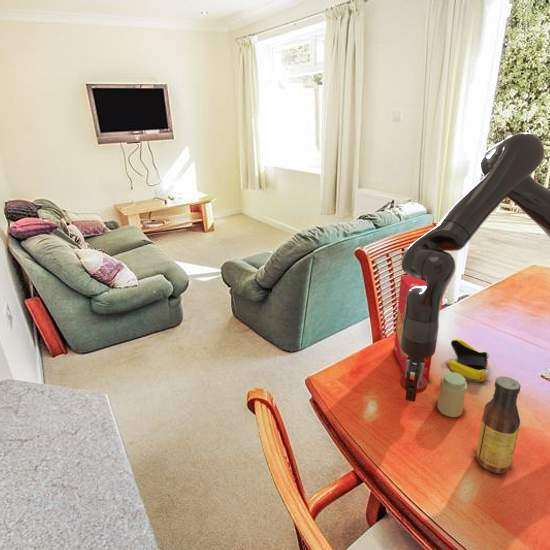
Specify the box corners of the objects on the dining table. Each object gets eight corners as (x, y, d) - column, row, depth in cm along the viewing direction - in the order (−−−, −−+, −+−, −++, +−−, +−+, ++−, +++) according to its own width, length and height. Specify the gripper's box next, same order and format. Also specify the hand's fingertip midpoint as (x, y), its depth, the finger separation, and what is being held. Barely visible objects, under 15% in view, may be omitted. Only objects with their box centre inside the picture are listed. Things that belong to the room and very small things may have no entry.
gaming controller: (443, 380, 101) (485, 391, 96) (445, 363, 99) (489, 373, 94) (450, 350, 113) (487, 359, 108) (452, 335, 110) (491, 343, 106)
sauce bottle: (516, 473, 74) (539, 394, 66) (486, 477, 74) (505, 397, 66) (496, 447, 80) (514, 371, 72) (467, 449, 80) (483, 374, 72)
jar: (458, 401, 93) (463, 371, 90) (465, 418, 88) (471, 386, 84) (434, 400, 94) (439, 370, 90) (440, 416, 89) (445, 385, 85)
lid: (394, 380, 92) (395, 375, 91) (415, 374, 93) (415, 369, 93) (410, 396, 86) (410, 391, 86) (432, 389, 88) (432, 384, 88)
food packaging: (394, 350, 114) (400, 275, 104) (411, 350, 114) (420, 274, 104) (408, 382, 101) (417, 299, 91) (428, 381, 100) (439, 298, 91)
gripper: (406, 314, 91) (401, 370, 98) (396, 345, 80) (390, 406, 86) (440, 320, 88) (431, 377, 95) (434, 353, 77) (425, 416, 83)
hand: (412, 391), depth 91 cm, fingers closed on lid, 6 cm apart
